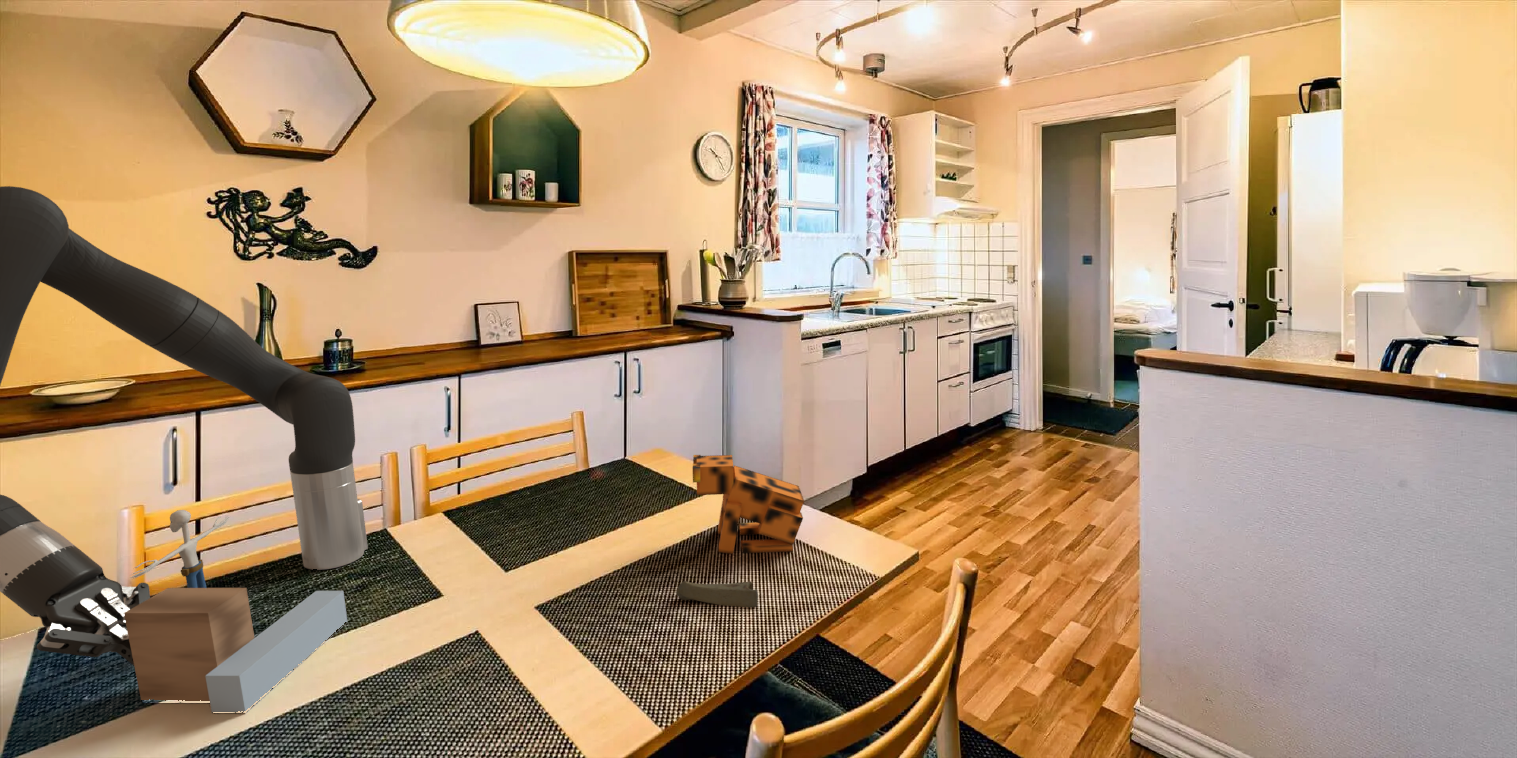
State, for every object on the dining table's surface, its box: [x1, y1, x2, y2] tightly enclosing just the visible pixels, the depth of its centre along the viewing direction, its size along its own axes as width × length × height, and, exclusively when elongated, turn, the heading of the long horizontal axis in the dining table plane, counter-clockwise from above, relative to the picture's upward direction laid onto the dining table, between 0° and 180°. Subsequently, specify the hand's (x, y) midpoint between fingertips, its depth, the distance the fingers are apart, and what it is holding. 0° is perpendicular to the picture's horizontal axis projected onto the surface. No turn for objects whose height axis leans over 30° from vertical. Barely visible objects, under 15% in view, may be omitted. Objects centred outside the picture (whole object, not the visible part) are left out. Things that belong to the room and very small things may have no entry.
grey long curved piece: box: [676, 580, 759, 608], centre depth 106 cm, size 13×5×4 cm, turn 84°
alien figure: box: [130, 509, 231, 588], centre depth 93 cm, size 20×5×19 cm, turn 8°
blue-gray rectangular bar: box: [205, 590, 348, 713], centre depth 89 cm, size 20×4×5 cm, turn 0°
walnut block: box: [124, 587, 255, 701], centre depth 83 cm, size 6×10×12 cm, turn 90°
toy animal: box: [692, 454, 805, 555], centre depth 125 cm, size 10×20×16 cm, turn 94°
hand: (154, 660), depth 84 cm, fingers closed
